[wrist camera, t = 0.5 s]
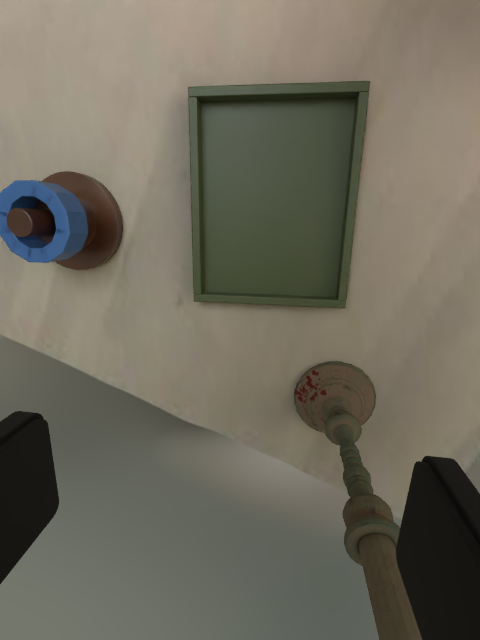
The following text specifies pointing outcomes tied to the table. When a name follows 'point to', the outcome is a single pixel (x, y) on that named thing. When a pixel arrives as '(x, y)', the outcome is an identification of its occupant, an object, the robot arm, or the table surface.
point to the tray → (275, 190)
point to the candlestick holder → (359, 489)
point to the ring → (65, 213)
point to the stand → (100, 220)
